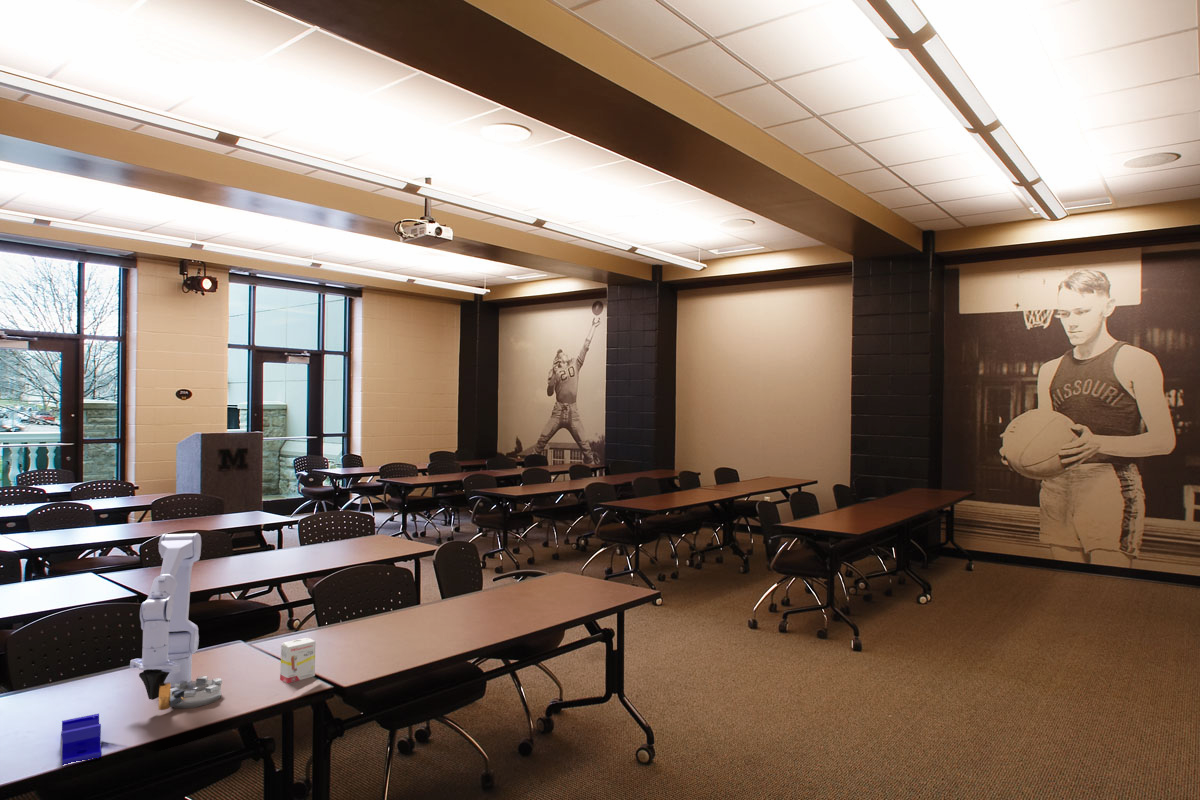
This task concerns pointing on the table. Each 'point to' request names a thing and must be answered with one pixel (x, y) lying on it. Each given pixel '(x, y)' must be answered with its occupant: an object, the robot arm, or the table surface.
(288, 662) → the ink box
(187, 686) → the grey toy battleship
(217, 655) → the table surface
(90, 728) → the mounting bracket
